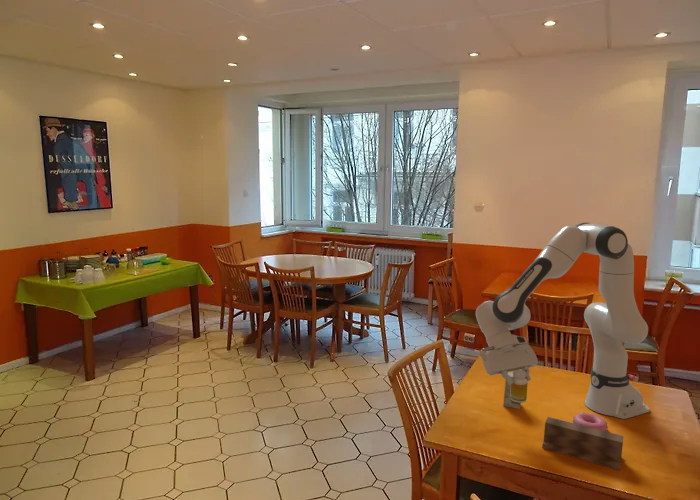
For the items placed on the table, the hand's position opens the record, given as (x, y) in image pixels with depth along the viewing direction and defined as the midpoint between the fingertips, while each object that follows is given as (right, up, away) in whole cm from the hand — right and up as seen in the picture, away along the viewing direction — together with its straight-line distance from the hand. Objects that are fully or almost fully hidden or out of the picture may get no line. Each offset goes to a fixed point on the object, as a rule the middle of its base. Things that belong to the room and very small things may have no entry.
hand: (520, 382), depth 163 cm
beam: (+16, -20, -8) cm, 27 cm away
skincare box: (+5, -15, +22) cm, 27 cm away
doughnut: (+26, -18, +6) cm, 32 cm away
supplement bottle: (0, -6, +2) cm, 7 cm away
